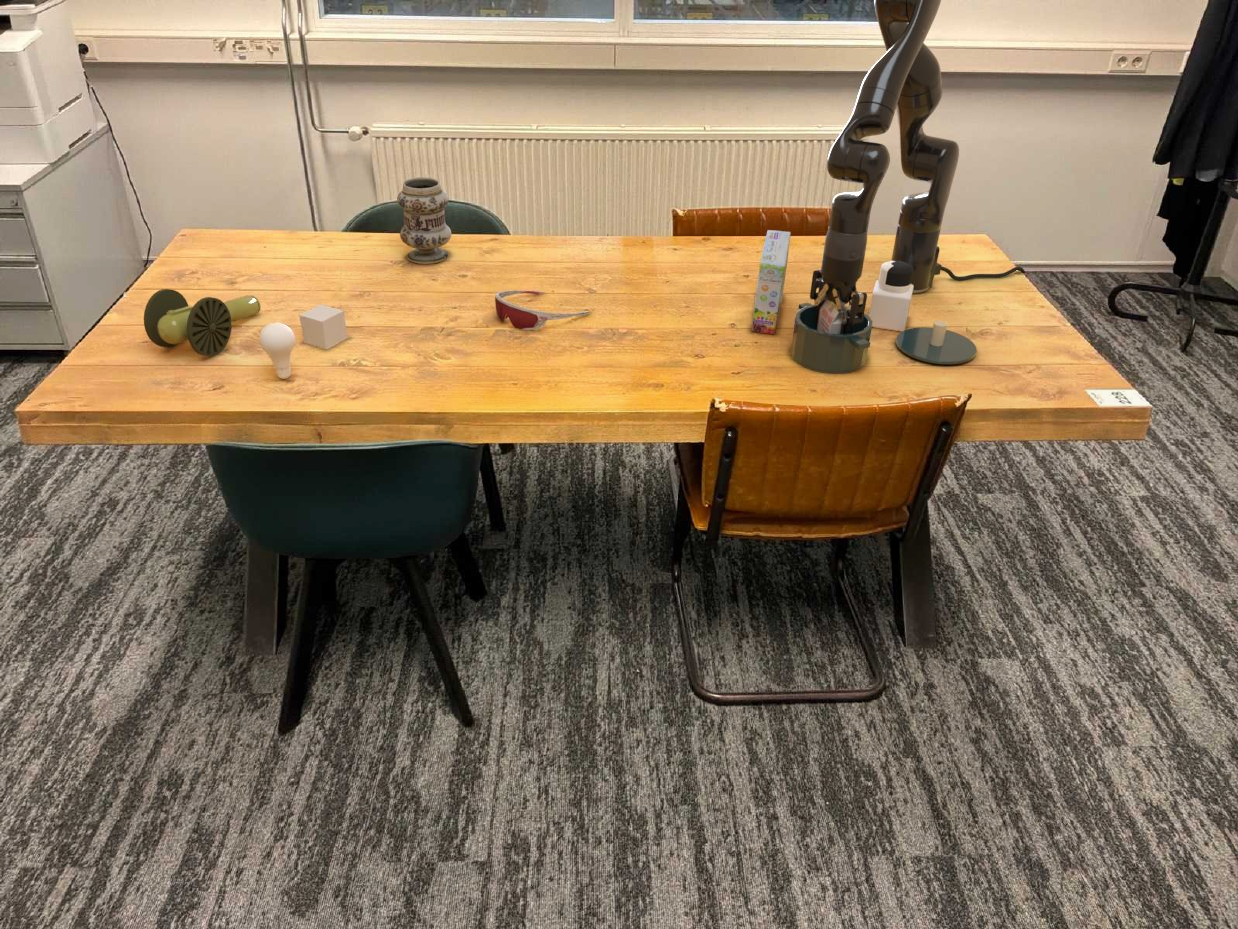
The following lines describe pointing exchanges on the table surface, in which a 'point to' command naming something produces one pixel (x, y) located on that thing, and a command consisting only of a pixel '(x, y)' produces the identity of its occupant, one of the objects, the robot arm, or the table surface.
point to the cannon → (195, 320)
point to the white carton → (829, 318)
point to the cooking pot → (829, 344)
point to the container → (892, 296)
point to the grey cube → (323, 326)
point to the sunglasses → (525, 312)
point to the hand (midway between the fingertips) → (832, 331)
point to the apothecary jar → (424, 220)
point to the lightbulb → (278, 347)
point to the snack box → (771, 281)
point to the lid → (936, 344)
